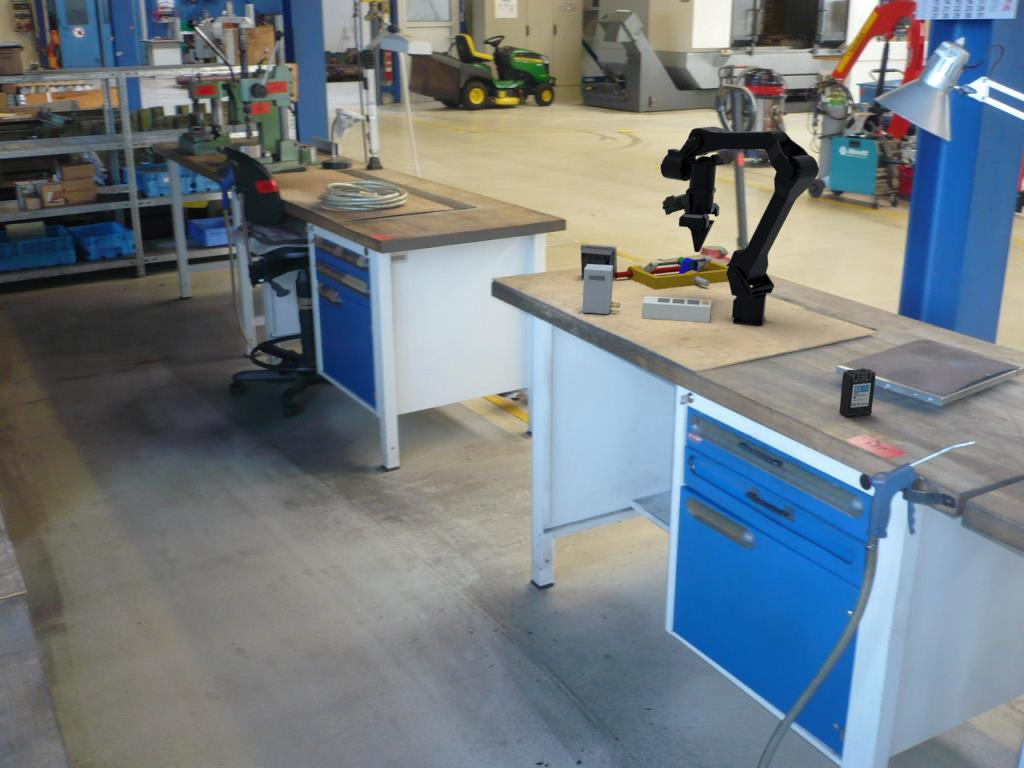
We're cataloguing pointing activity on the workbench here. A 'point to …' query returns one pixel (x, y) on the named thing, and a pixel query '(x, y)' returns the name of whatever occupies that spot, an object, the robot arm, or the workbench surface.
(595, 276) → the charger
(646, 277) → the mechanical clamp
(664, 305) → the power strip
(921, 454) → the workbench surface
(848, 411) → the ink cartridge
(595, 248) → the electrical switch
